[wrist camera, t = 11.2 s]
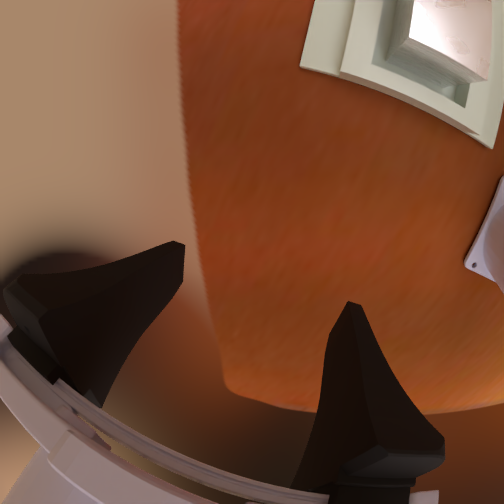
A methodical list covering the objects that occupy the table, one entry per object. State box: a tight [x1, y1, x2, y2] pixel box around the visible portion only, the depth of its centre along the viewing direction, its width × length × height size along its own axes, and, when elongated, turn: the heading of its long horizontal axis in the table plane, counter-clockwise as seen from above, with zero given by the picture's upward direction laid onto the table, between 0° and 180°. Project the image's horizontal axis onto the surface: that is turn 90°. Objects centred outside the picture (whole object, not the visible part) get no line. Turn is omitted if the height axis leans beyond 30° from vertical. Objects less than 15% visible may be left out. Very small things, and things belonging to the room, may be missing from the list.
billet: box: [386, 0, 492, 88], centre depth 7 cm, size 4×6×6 cm, turn 167°
